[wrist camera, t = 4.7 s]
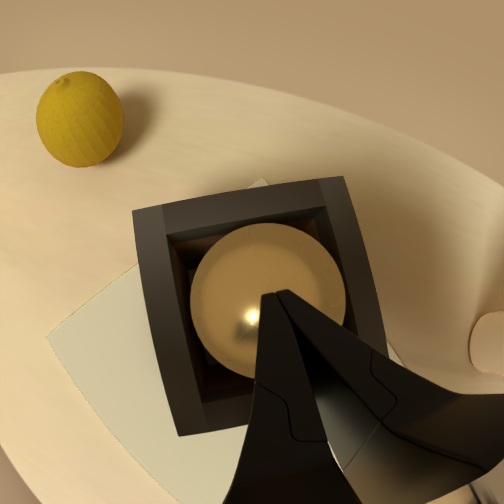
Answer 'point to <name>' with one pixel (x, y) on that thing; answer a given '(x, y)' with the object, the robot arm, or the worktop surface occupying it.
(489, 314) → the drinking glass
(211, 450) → the mat
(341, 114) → the worktop surface
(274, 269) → the peg
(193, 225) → the wooden box
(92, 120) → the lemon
